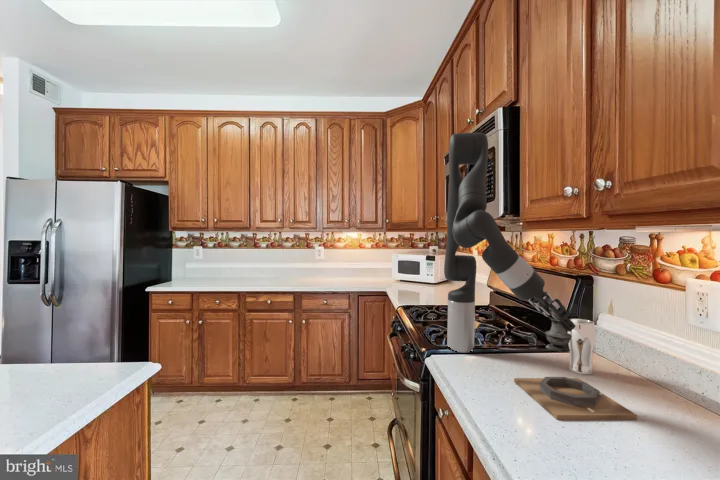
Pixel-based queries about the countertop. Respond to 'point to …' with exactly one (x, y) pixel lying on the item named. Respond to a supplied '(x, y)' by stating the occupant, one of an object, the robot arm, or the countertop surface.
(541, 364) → the countertop surface
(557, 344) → the grey turned stone piece
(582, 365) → the beer glass
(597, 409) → the socket plate
